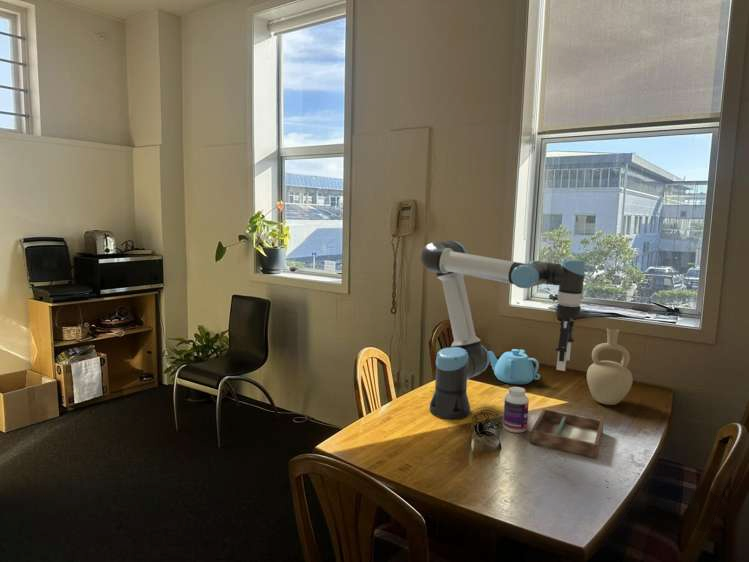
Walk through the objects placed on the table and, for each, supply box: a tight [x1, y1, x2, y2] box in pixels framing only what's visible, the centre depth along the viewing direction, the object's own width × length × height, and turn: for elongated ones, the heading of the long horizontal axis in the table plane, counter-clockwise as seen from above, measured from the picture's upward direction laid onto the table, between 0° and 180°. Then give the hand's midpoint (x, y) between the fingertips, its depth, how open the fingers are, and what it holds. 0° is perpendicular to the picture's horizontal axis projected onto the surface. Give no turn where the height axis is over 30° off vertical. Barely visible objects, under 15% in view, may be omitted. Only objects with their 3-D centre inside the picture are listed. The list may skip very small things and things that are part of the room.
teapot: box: [488, 348, 541, 385], centre depth 229 cm, size 19×19×14 cm
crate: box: [529, 408, 605, 460], centre depth 169 cm, size 20×22×4 cm
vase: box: [586, 327, 634, 406], centre depth 202 cm, size 17×17×30 cm
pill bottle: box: [502, 386, 530, 434], centre depth 175 cm, size 8×8×14 cm
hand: (563, 364), depth 175 cm, fingers open, 13 cm apart
